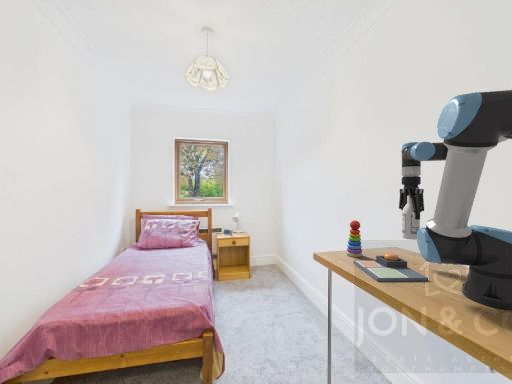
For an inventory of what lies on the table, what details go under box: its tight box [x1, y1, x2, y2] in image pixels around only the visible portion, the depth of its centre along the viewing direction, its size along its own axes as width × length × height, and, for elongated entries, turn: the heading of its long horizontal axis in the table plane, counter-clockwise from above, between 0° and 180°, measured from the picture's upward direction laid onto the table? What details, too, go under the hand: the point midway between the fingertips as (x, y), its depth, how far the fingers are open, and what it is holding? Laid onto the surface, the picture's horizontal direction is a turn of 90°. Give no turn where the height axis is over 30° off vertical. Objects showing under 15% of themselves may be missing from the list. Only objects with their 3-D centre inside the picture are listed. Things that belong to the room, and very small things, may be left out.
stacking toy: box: [346, 219, 363, 258], centre depth 127 cm, size 8×8×19 cm
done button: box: [383, 252, 399, 261], centre depth 109 cm, size 6×6×2 cm
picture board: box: [352, 255, 429, 282], centre depth 104 cm, size 22×20×4 cm
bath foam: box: [401, 196, 421, 241], centre depth 112 cm, size 7×7×20 cm
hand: (410, 225), depth 112 cm, fingers closed on bath foam, 7 cm apart
